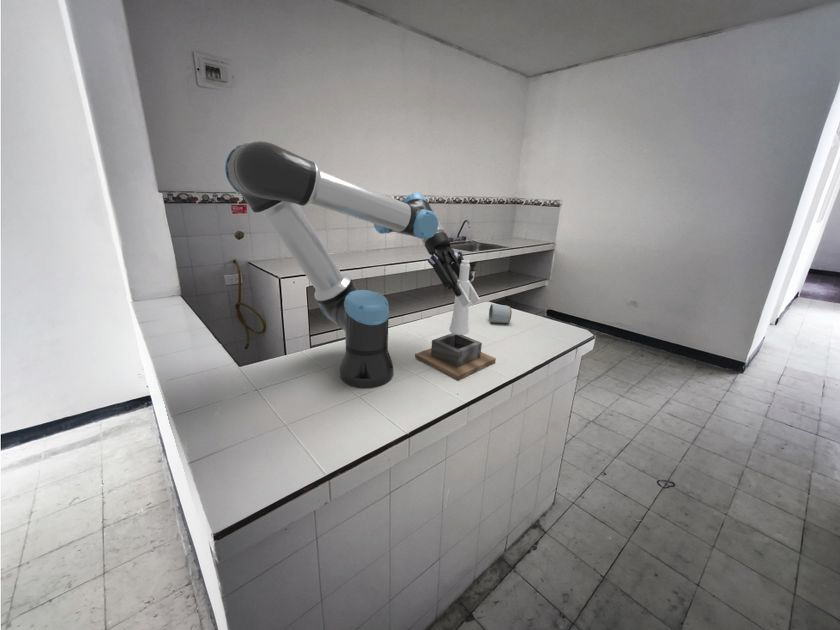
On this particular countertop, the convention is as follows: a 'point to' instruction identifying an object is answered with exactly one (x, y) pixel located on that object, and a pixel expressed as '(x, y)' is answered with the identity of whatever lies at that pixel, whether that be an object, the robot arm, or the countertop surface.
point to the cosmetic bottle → (461, 313)
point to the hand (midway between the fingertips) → (471, 303)
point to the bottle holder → (455, 356)
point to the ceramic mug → (499, 313)
